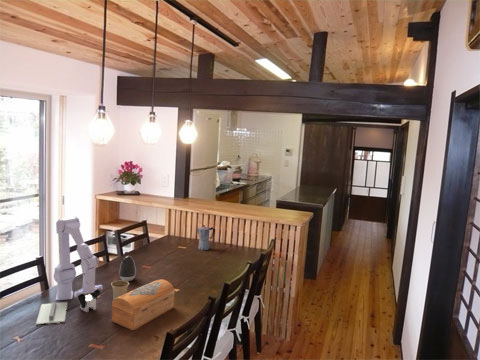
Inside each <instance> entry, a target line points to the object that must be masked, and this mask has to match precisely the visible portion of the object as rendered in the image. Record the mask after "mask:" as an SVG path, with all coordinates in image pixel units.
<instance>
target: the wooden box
mask: <svg viewBox="0 0 480 360" xmlns="http://www.w3.org/2000/svg"><path fill="white" fill-rule="evenodd" d="M175 295H176V289H175V288H174V286H173V284H172V283H171V282H170V281H168V280H166V279H160V278H159V279H157V280H154V281H151V282H149V283H147V284H144V285H141V286H139V287H137V288H134V289H133V290H131V291H129V292H126V294H124V295H122V296H119V297H117V298H115V299H114V298H113V299H112V302H111V322H112V323H115V324H117V325H119V326H121V327H124V328H127V329H128V330H131V331H136V330H138V329H139V328H140V327H142V326H144V325H146V324H148V323H149V322H151V321H152V320H154V319H157V318H158V317H159V316H161V315H163V314H165V313H167V312H168V311H170V310H172V309H173V308H174V305H175V304H174V303H175Z"/></svg>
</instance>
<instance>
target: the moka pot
mask: <svg viewBox="0 0 480 360" xmlns="http://www.w3.org/2000/svg"><path fill="white" fill-rule="evenodd" d="M195 230H196V232H197V234H198V238H199V240H198V246H197V247H198V250H199V251H208V250H209V249H210V245H209V239H210V240H211V239H213V236H214V233H215V228H213V227H207V226H206V225H205V224H203V225H202V226H201V227H197V228H195ZM210 231H212V233H211V236H210ZM209 236H210V237H209Z"/></svg>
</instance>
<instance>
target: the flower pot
mask: <svg viewBox="0 0 480 360" xmlns="http://www.w3.org/2000/svg"><path fill="white" fill-rule="evenodd" d="M129 282H130V281H123V280H114V281H112V282H111V284H110V285H111V288H112V295H113V300H114V299H115V298H117V297H119V296H122V295H124V294H126V293H128V292H127V291H128V288H129V285H130V283H129Z"/></svg>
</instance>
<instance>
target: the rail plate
mask: <svg viewBox="0 0 480 360" xmlns="http://www.w3.org/2000/svg"><path fill="white" fill-rule="evenodd" d="M66 310H68V301H64V302H57V300H53V301H52V302H51V303H41V305H40V308H39V311H38V312H39V313H38V316H37V319H36V321H35V322H36V323H35V325H36V324H44V323H57V324H61V323H60V322H65V323H66V317H67V311H66Z"/></svg>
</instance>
